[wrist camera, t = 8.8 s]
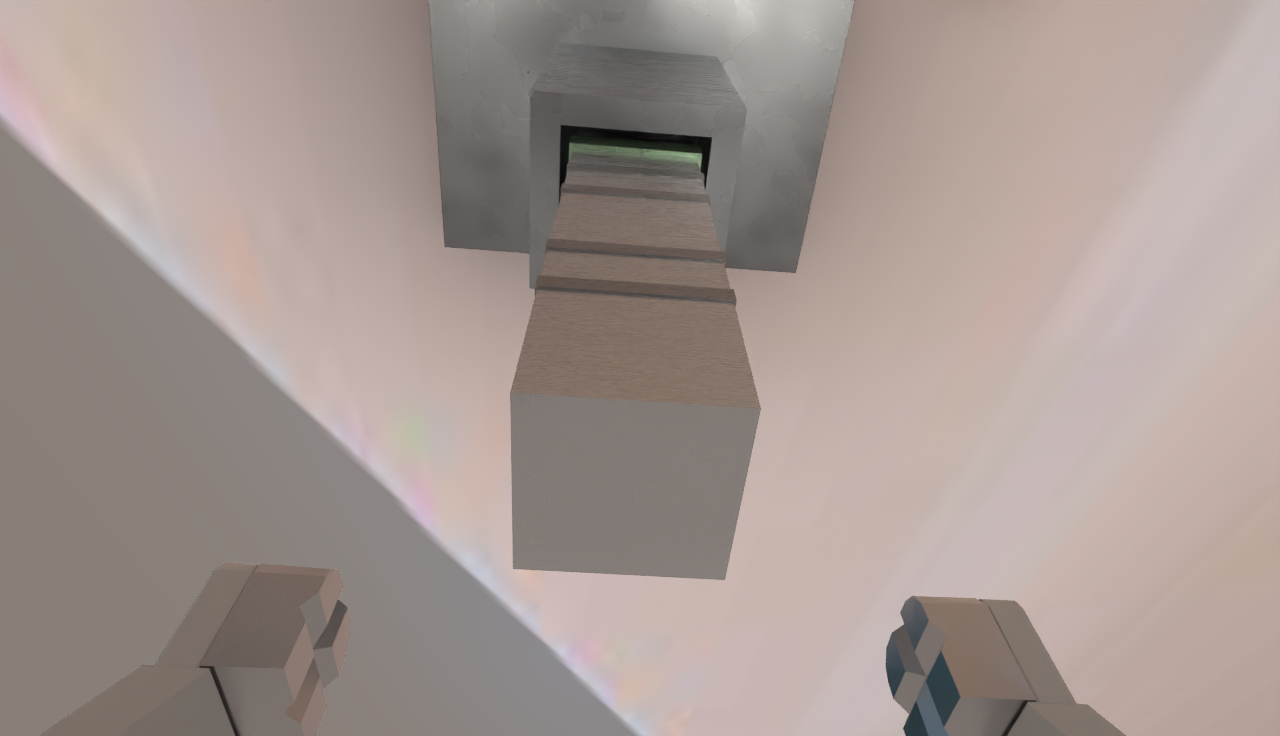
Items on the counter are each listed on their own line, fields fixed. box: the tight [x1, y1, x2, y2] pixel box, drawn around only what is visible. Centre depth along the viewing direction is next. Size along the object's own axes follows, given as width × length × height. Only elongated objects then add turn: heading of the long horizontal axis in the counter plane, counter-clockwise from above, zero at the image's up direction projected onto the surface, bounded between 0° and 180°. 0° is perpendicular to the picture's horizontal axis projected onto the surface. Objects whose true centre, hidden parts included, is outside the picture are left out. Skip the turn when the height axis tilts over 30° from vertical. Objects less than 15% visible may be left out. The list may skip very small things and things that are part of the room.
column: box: [510, 126, 761, 580], centre depth 20 cm, size 4×4×18 cm
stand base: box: [429, 0, 854, 289], centre depth 30 cm, size 13×18×13 cm
